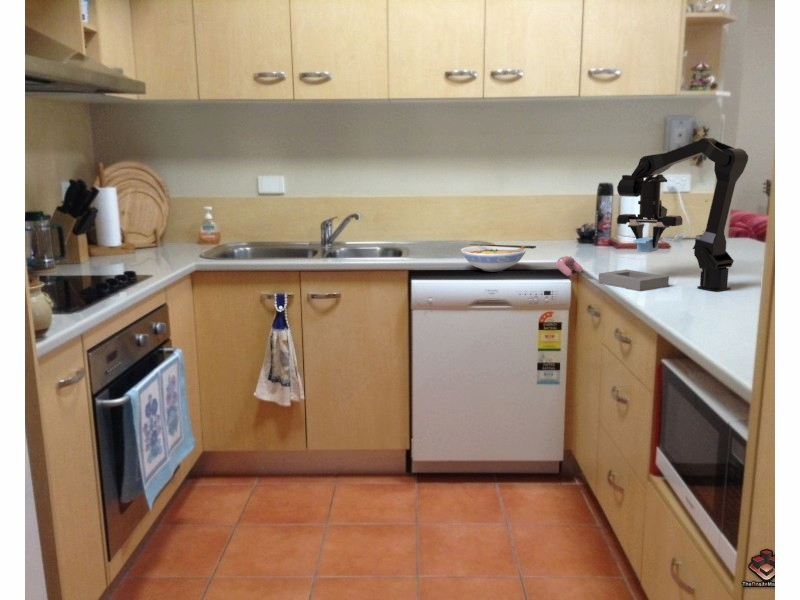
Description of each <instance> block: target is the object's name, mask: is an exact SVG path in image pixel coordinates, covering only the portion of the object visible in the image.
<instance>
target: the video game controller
mask: <svg viewBox="0 0 800 600" xmlns="http://www.w3.org/2000/svg"><path fill="white" fill-rule="evenodd" d="M555 264H556V268H557V269H558V270H559V271H560V272H561V273H562V274H563V275H565V276H567V277H571V276H572V275H573V271H575V272H576V273H582V272H583V267H582V265H581V264H580V263H578V262H577V261H576V260H575V258H573V257H572V256H567V255H565V256H562V257H560V258H558V260H557V261H556V262H555Z"/></svg>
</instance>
